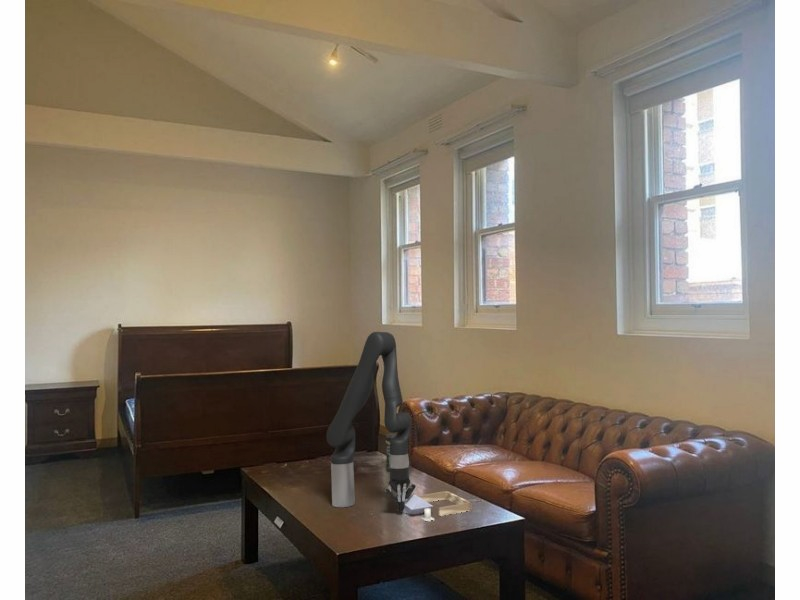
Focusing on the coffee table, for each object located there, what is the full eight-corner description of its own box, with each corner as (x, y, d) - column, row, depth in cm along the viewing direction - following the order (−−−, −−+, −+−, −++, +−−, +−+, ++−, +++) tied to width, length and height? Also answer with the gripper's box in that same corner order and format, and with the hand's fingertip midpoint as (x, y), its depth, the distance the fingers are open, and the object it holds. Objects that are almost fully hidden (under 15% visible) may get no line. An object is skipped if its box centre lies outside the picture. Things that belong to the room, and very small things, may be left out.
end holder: (416, 503, 250) (416, 495, 250) (447, 498, 256) (447, 490, 256) (439, 516, 233) (439, 508, 233) (472, 510, 238) (471, 502, 239)
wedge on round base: (433, 515, 235) (419, 505, 247) (433, 497, 235) (419, 489, 247) (412, 518, 231) (398, 509, 243) (411, 500, 231) (398, 492, 243)
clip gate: (398, 504, 249) (397, 494, 250) (406, 503, 251) (405, 493, 251) (425, 521, 227) (425, 510, 227) (434, 520, 229) (434, 509, 229)
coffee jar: (383, 470, 306) (382, 433, 306) (396, 468, 310) (395, 431, 311) (394, 474, 298) (393, 435, 298) (408, 471, 302) (406, 433, 303)
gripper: (410, 461, 243) (411, 505, 242) (379, 465, 238) (380, 510, 237) (419, 465, 236) (420, 510, 236) (387, 469, 231) (388, 516, 230)
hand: (400, 510), depth 236 cm, fingers closed
